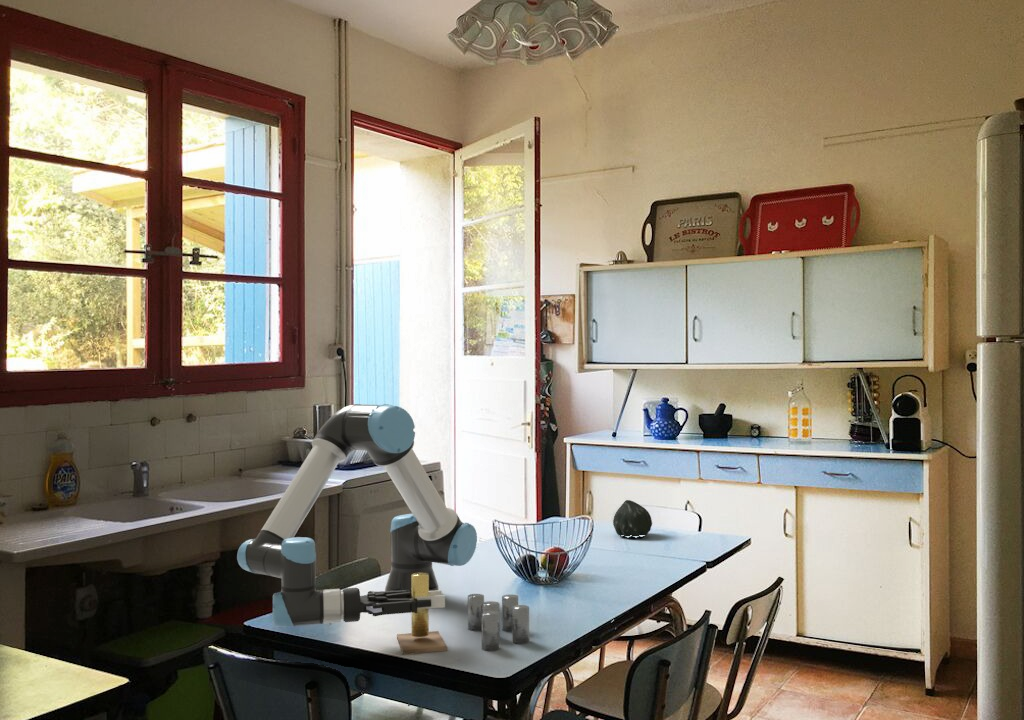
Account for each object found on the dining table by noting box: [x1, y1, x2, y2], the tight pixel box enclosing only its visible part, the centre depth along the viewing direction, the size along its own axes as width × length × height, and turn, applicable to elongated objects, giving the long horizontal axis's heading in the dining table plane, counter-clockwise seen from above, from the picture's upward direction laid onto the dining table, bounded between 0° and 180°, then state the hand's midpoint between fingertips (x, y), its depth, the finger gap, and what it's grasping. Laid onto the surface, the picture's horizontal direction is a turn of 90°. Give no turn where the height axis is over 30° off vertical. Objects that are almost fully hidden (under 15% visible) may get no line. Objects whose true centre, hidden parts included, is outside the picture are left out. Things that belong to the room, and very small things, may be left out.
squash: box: [612, 499, 653, 536], centre depth 333 cm, size 14×15×15 cm
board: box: [396, 630, 448, 655], centre depth 204 cm, size 12×10×1 cm
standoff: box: [411, 573, 430, 637], centre depth 205 cm, size 4×4×14 cm
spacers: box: [467, 593, 530, 652], centre depth 210 cm, size 20×12×8 cm, turn 14°
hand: (442, 598), depth 206 cm, fingers closed on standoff, 4 cm apart
